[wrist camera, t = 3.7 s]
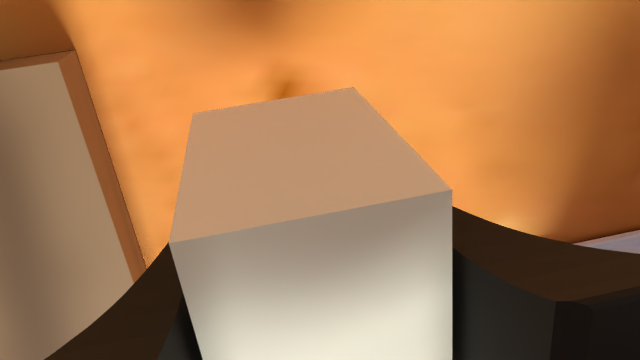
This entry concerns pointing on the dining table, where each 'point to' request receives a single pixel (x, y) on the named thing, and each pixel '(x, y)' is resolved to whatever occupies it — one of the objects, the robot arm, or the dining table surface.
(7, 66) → the walnut plank
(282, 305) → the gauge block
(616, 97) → the dining table surface
